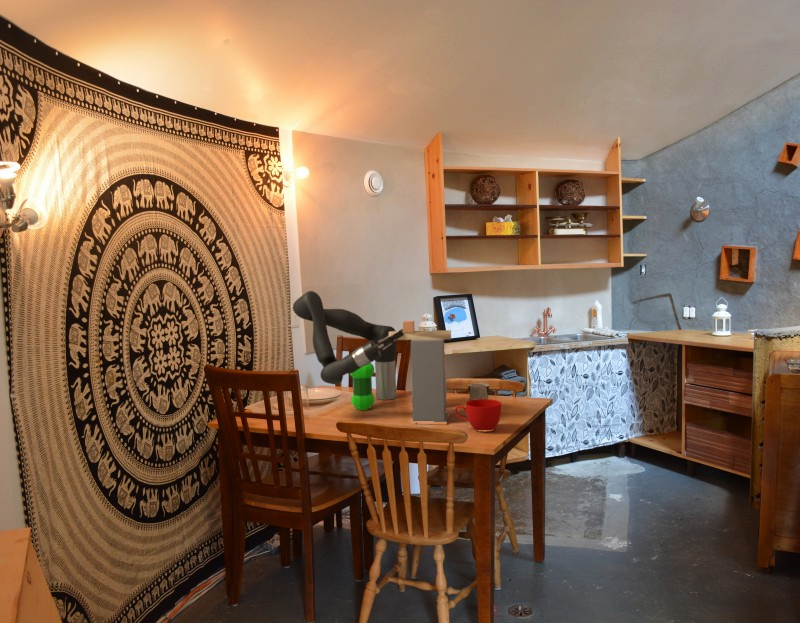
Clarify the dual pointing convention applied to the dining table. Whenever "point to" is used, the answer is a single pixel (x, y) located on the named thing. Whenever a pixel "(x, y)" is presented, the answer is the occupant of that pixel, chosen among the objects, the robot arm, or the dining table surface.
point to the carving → (478, 392)
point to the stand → (428, 380)
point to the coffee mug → (479, 383)
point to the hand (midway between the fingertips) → (403, 331)
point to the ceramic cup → (482, 413)
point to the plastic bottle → (363, 387)
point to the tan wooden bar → (423, 335)
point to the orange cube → (408, 326)
